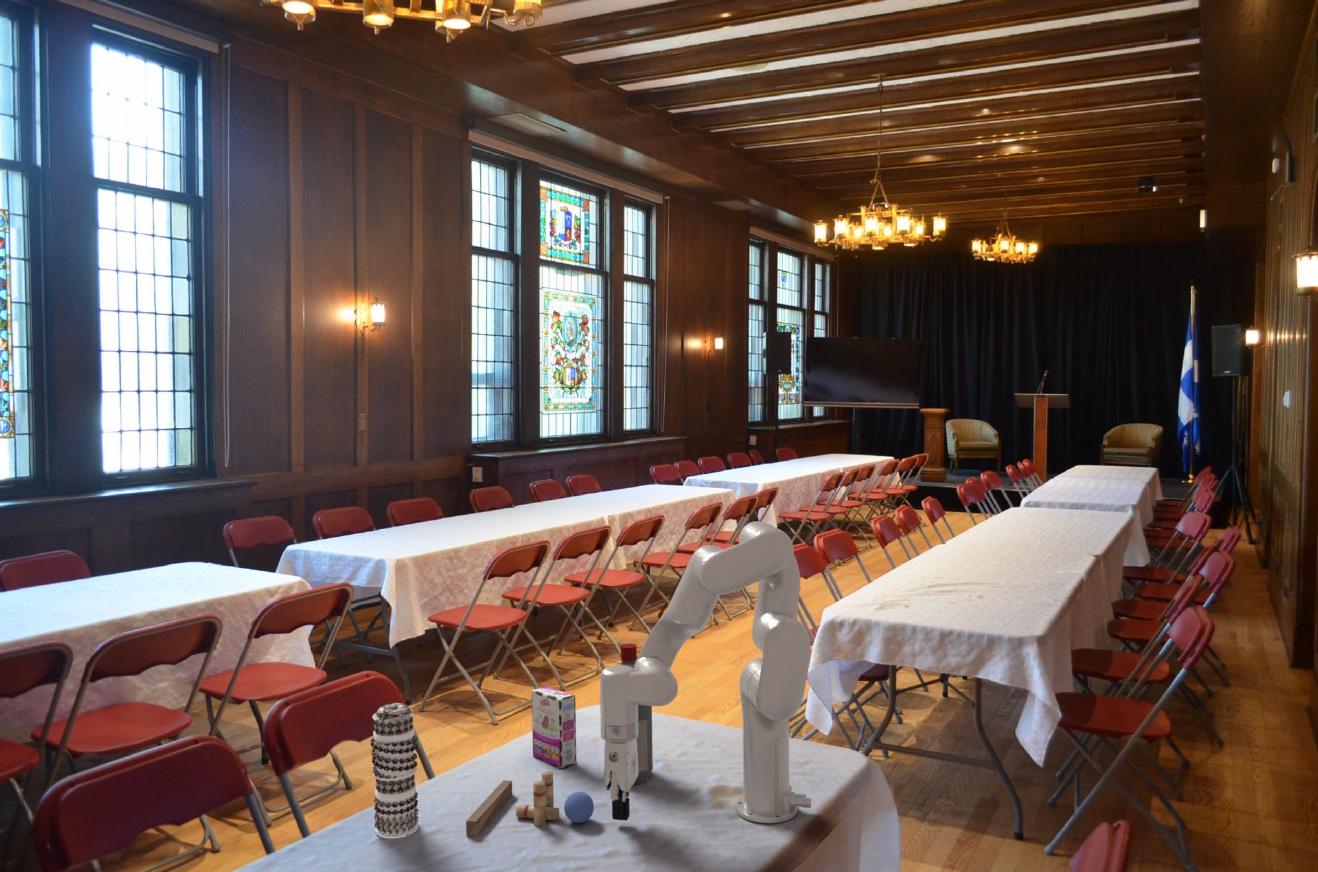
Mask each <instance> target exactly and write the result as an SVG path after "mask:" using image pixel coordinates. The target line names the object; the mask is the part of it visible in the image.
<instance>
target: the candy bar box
mask: <svg viewBox="0 0 1318 872" xmlns="http://www.w3.org/2000/svg"><path fill="white" fill-rule="evenodd" d="M576 708H577V707H576V695H575V694H572V693H569V692H566V691H562V690H560V689H558V688H557V689H556V688H553V687H550V686H549V685H547V686H542V687H539V688H535V689H532V690H531V718H532V719H531V721H532V724H531V725H532V726H531V727H532V757H533V758H535V759H537V760H538V761H542V762H544V763H547V764H549V765H551V766H553V767H554V766H555V767H556V768H559V769H565V768H567V767H571V766H574V765H575V764H577V728H576V727H577V725H576V724H577V715H576V714H577V713H576V710H577V709H576Z"/></svg>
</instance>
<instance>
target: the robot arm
mask: <svg viewBox="0 0 1318 872" xmlns="http://www.w3.org/2000/svg"><path fill="white" fill-rule="evenodd" d="M738 537H739V539H738V543H737V544H735V545H732V546H730V547H727V548H725V549H723V548H722V547H719V546H718V545H717V546H716V545H712V544H711V545H710V544H707V545H703V546H702V545H701V546H700V547H698V548H697V549H695V551H694V553H693V554H692V556H691V557H690V558H689V559H690V560H689V562H688V564H687V566H686V568H685V569H684V571H683V574H682V576H681V578H680V580H679V583H678V584H677V587H676V589H675V592H674V594H673V596H672V598H671V600H670V602H669V604H668V606H667V608H666V609H665V611H664V613H663V614H662V615H661V617H660V618H659V619H658V621H657V622H656V623H655V625H654V626H653V627H652V629H651V631H650V632H649V633H648V635H647V637H646V640H645V642H643V643H644V644H643V646H642V648H641V650H640V652H639V654H638V656H637V660H636V663H635V666H634V669H633V668H632V667H630V666H625V665H622V664H615V665H610V666H607V667H605V668H603V669H602V670H601V672H600V674H599V689H600V690H599V693H600V694H599V698H600V699H599V703H600V704H599V705H600V738H601V740H603V741H604V750H603V751H604V755H603V756H604V761H603V779H604V780H603V782H604V788H605V790H606V791H609V790H610V800H611V815H612V817H611V819H612V820H615V821H616V820H617V821H628V820H629V818H630V816H631V815H630V814H631V813H630V811H631V810H630V790H631V789H632V787H633V785H634V782H635V780H636V779H637V777H638V773H639V769H638V751H637V739H636V738H637V737H638V705H646V706H652V707H664V706H667V705H669V704H671V703H672V702H674V700H675V699H676V698H677V695H678V693H679V685H678V680H677V679H676V676H675V675H674V674H673V672H672V670H671V668H672V666H673V664H674V661H675V659H676V658H677V655H678V653H679V652H680V650H681V648H682V647H683V646H684V644H685V643H686V641H688V640H689V639H690V638H692V637H693V636H694V635H697V634H699V633H701V632H702V631H703V630H704V629H705V628H706V627H707V624H708V622H709V620H710V617H711V615H712V614H713V611H714V609H715V607H716V605H717V602H718V600H719V598H720V596H723V595H728V594H731V593H734V592H737V591H739V590H742V589H743V588H746V587H749V586H751V585H754V584H755V583H757V582H758V586H757V587H758V588H757V597H756V604H755V610H754V614H753V616H754V617H753V621H752V625H751V626H752V627H751V639H752V642H753V643H754V645H755V647H757V649H758V650H759V651H760V652H761V653H762V657H757V658H754V659H752V660H750V661H749V662H748V663H747V664H746V665H744V667H743V669H742V671H741V672H740V677H739V695H740V704H741V713H742V715H741V717H742V777H743V778H742V780H743V781H742V785H743V787H742V789H743V791H742V792H743V795H742V796H741V797H740V798H739V799H738V800H737V801H735V802H736V804H735V811H736V812H737V814H738V815H739V816H740V817H741V818H742V819H745V820H747V821H751V822H754V823H761V824H777V823H784V822H787V821H790V820H791V819H793V818H794V817H795V816H796V815H797V813H798V807H799V808H807V809H812V798H811V797H807V793H795V791H793V785H791V784H790V721H789V719H791V718H793V717H794V716H795V715H796V714H797V712H799V709H800V708H801V705H802V702H803V701H804V695H805V690H806V684H807V679H808V671H809V665H810V659H811V658H810V657H811V647H812V646H811V640H810V639H811V638H810V635H809V632H808V630H807V629H806V627H805V626H804V624H803V623H802V622H801V621H799V620H798V611H799V600H800V592H801V591H800V590H801V574H800V568H799V564H798V560H797V558H796V555H795V554H794V552H795V551H794V544H793V541H792V539H791V538H790V536H789V535H788V534H787V533H786V532H784V531H783V530H782V529H779V528H777V527H775V526H774V525H772V524H769V523H767V522H764V521H752V522H751V521H750V522H749V523H747V524H745V525H744V527H742V529H741V531H740V534H739V536H738Z"/></svg>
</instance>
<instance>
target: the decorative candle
mask: <svg viewBox="0 0 1318 872" xmlns="http://www.w3.org/2000/svg"><path fill="white" fill-rule="evenodd" d="M414 715H415V711H414V710H413V709H411V708H410V707H409V706H408V705H407V704H404V703H400V702H395V703H394V702H393V703H387V704H385V705H382V706H380V707H379V708H378V709H377V712H375V713H374V714H372V719H373V721H374V723H373V725H374V726H373V729H374V730H373V735H372V736H373V737H372V738H370V746H371V748H372V749H371V763H372V764H373V767H372V775H373V777H374V778H375V789H374V795H375V796H374V799H373V802H374V803H375V804H374V807H373V810H374V811H375V812H374V815H373V818H374V820H375V821H374V827H375V830H374V832H375V831H376V832H379V833H378V834H379V835H382V836H386V837H399V836H403V835H408V834H410V833H412V832H414V831H415V830H416V829H417V828H418V829H419V818H420V817H419V816H418V814H419V811H420V810H419V809H418V803H419V800H418V795H419V793H418V792H417V784H416V780H415V779H416V777H415V776H416V775H415V774H416V773H417V770H418V768H417V767H418V762H417V761H416V760H417V758H418V754H417V753H415V751H416V750H417V749H418V747H419V745H418V744H417V743H416V742H417V741H418V736H416V735H415V727H414ZM418 829H417V830H418ZM415 832H416V831H415ZM415 832H414V833H415Z"/></svg>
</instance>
